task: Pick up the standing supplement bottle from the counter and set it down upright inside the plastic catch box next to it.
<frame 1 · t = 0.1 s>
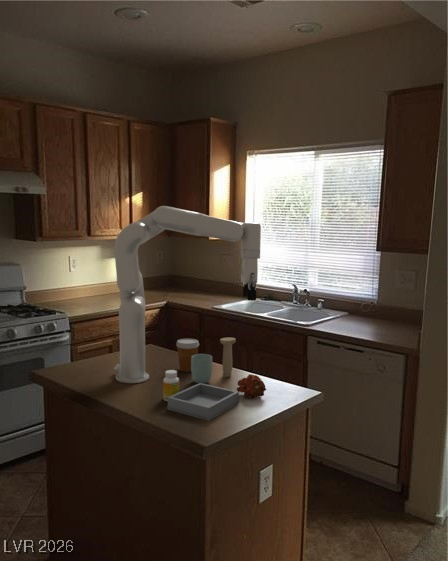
hand: (249, 298, 194), 31 cm above the countertop, tool pointing down, fingers open, 9 cm apart
handle: (227, 376, 197), on the countertop
cup: (201, 382, 189), on the countertop
dragon fruit: (250, 397, 174), on the countertop
catch box: (203, 406, 164), on the countertop
disposable coffee cup: (187, 370, 205), on the countertop
supplement bottle: (170, 399, 171), on the countertop
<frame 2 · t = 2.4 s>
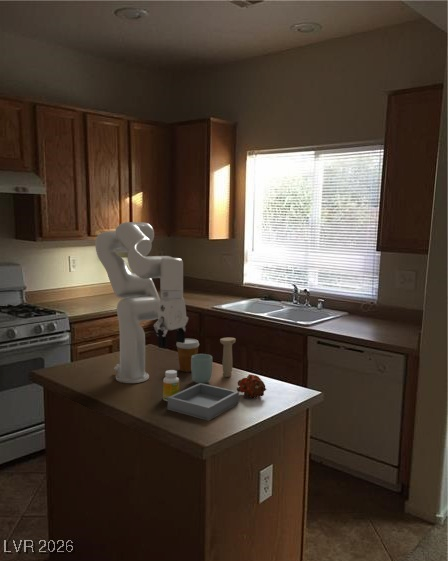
hand: (171, 345, 168), 19 cm above the countertop, tool pointing down, fingers open, 9 cm apart
nothing on the countertop moved.
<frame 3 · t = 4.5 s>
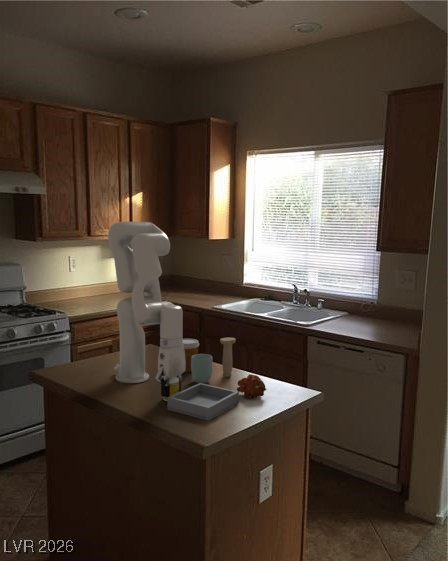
hand: (171, 393, 170), 2 cm above the countertop, tool pointing down, fingers closed on supplement bottle, 5 cm apart
supplement bottle: (170, 399, 171), on the countertop, touching gripper
everything else where it was.
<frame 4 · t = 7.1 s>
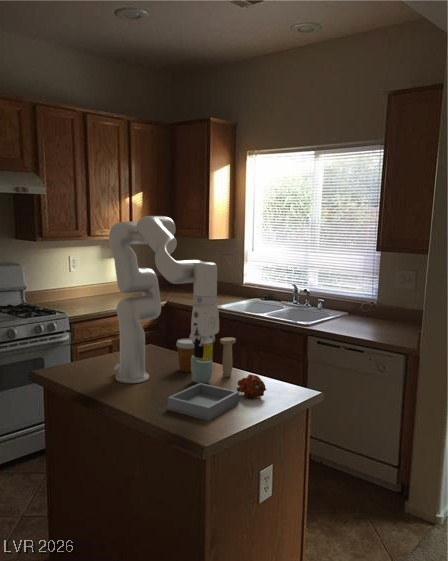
hand: (204, 354, 163), 17 cm above the countertop, tool pointing down, fingers closed on supplement bottle, 5 cm apart
supplement bottle: (204, 361, 163), point 15 cm above the countertop, touching gripper
everything else where it was.
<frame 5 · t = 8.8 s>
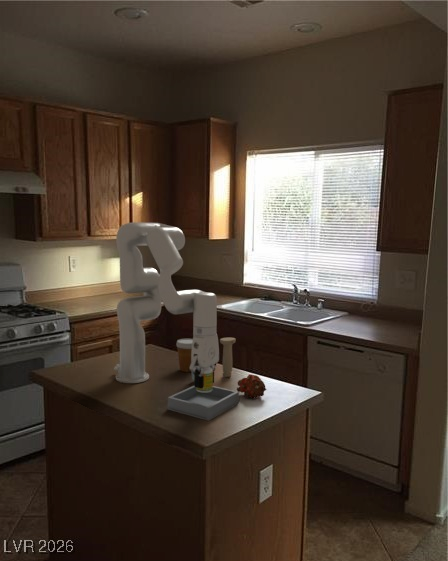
hand: (204, 384, 164), 7 cm above the countertop, tool pointing down, fingers closed on supplement bottle, 5 cm apart
supplement bottle: (204, 391, 164), point 5 cm above the countertop, touching gripper
everything else where it was.
when the fingers open (4 cm above the countertop, at t = 9.9 s): supplement bottle drops 1 cm, resting on catch box.
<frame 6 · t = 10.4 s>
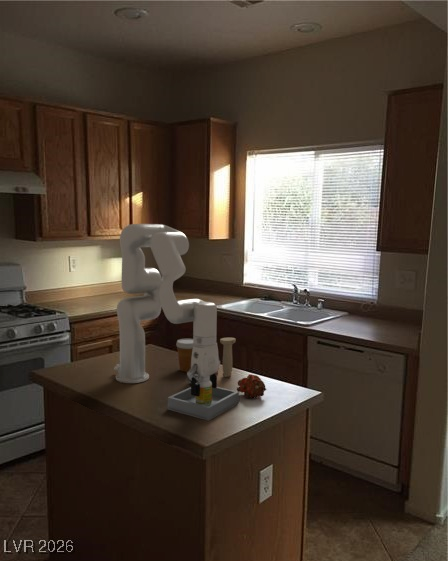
hand: (204, 391, 164), 5 cm above the countertop, tool pointing down, fingers open, 9 cm apart
supplement bottle: (203, 404, 165), point 1 cm above the countertop, touching catch box
everything else where it was.
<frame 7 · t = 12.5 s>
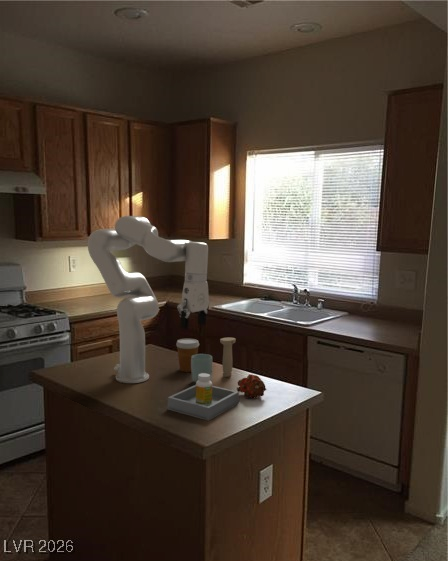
hand: (193, 326, 174), 24 cm above the countertop, tool pointing down, fingers open, 9 cm apart
nothing on the countertop moved.
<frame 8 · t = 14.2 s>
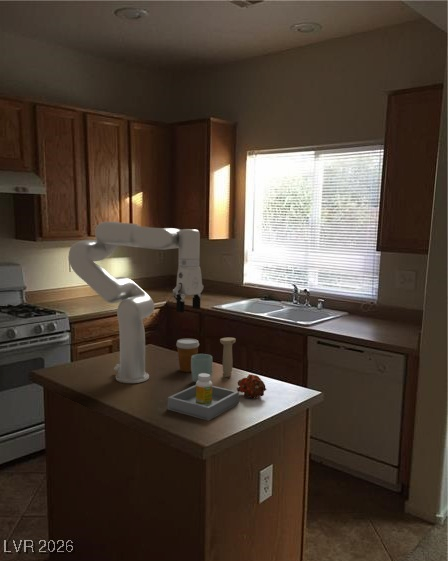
hand: (188, 310, 182), 28 cm above the countertop, tool pointing down, fingers open, 9 cm apart
nothing on the countertop moved.
at the end: supplement bottle inside the target area on the catch box (0.3 cm from its centre), point 0.6 cm above the catch box's base; the gripper is holding nothing; supplement bottle tilted 1° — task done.
